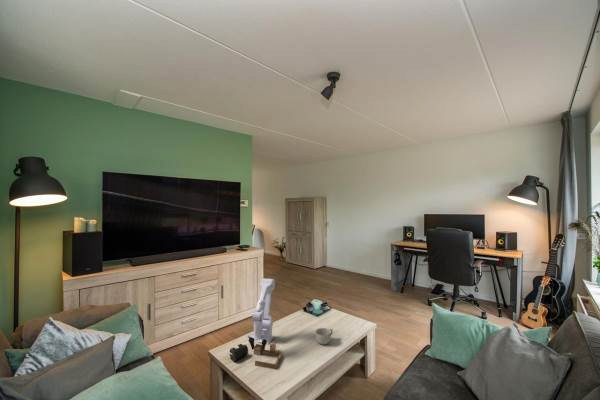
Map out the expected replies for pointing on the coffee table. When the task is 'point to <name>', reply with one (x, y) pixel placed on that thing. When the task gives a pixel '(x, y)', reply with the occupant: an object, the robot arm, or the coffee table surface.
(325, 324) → the coffee table surface
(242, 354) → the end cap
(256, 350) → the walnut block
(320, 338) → the teacup
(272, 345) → the tan rounded capsule
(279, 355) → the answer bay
